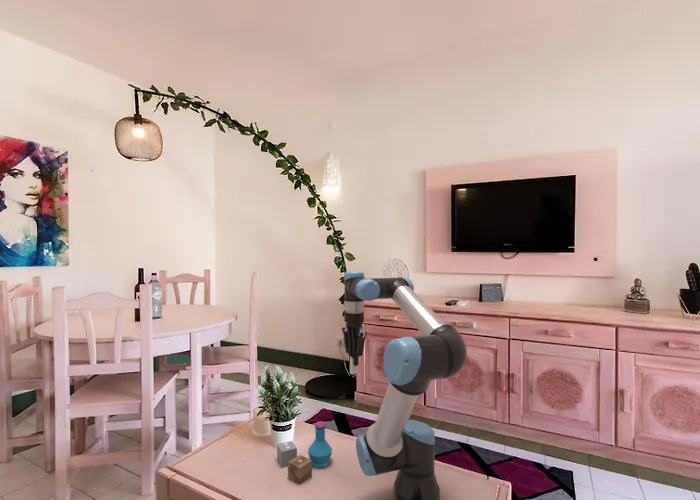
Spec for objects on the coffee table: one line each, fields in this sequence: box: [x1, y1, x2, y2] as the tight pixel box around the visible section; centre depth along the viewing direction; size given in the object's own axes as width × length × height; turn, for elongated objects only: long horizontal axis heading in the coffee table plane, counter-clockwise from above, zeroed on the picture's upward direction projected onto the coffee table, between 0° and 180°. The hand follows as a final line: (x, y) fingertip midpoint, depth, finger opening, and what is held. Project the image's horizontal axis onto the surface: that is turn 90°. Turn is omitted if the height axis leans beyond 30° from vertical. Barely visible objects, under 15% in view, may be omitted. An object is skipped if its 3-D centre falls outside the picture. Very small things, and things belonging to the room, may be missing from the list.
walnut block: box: [287, 454, 313, 486], centre depth 135 cm, size 6×6×6 cm
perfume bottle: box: [307, 420, 333, 468], centre depth 144 cm, size 9×9×15 cm
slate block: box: [276, 440, 298, 468], centre depth 145 cm, size 6×6×6 cm
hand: (353, 373), depth 144 cm, fingers closed
